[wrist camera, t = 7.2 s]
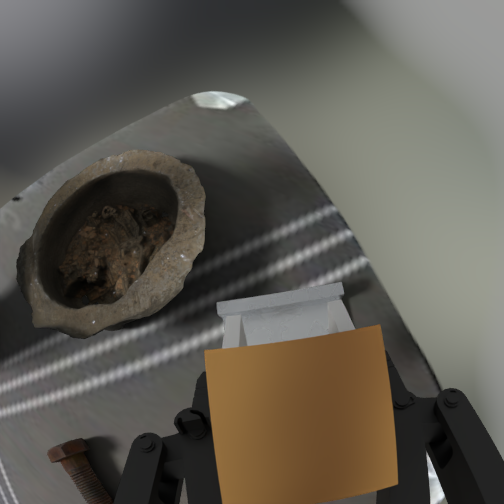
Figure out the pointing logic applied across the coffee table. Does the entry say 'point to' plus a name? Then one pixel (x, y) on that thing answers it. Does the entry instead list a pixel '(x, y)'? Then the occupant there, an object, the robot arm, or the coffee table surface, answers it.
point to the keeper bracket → (283, 314)
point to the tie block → (302, 419)
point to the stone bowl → (113, 243)
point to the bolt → (80, 470)
